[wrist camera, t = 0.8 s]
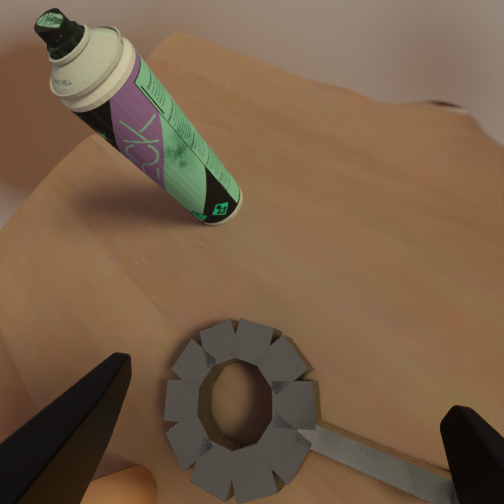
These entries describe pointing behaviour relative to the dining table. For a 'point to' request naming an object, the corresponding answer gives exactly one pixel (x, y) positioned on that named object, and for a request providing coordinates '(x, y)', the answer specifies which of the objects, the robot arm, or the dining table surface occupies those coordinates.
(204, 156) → the spray can
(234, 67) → the dining table surface
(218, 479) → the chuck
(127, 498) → the rod
